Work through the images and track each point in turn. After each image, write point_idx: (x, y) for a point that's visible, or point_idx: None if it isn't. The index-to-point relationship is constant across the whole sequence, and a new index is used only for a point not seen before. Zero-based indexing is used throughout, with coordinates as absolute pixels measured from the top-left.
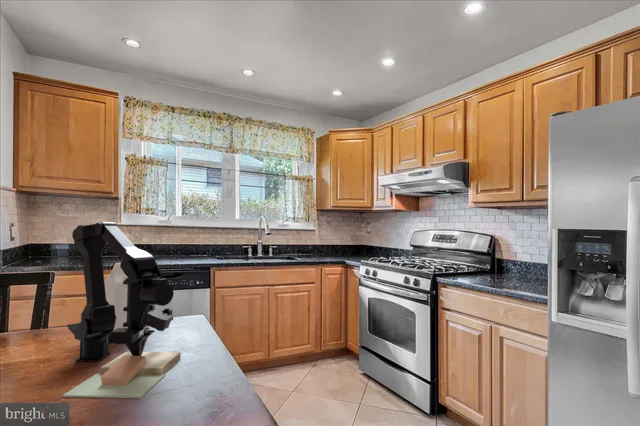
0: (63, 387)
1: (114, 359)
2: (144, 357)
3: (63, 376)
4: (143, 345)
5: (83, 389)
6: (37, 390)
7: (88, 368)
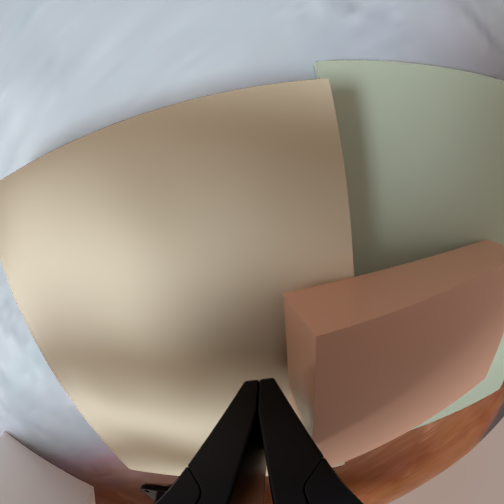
0: (432, 438)
1: None
2: (332, 330)
3: None
4: (222, 484)
5: None
6: (434, 459)
7: None
